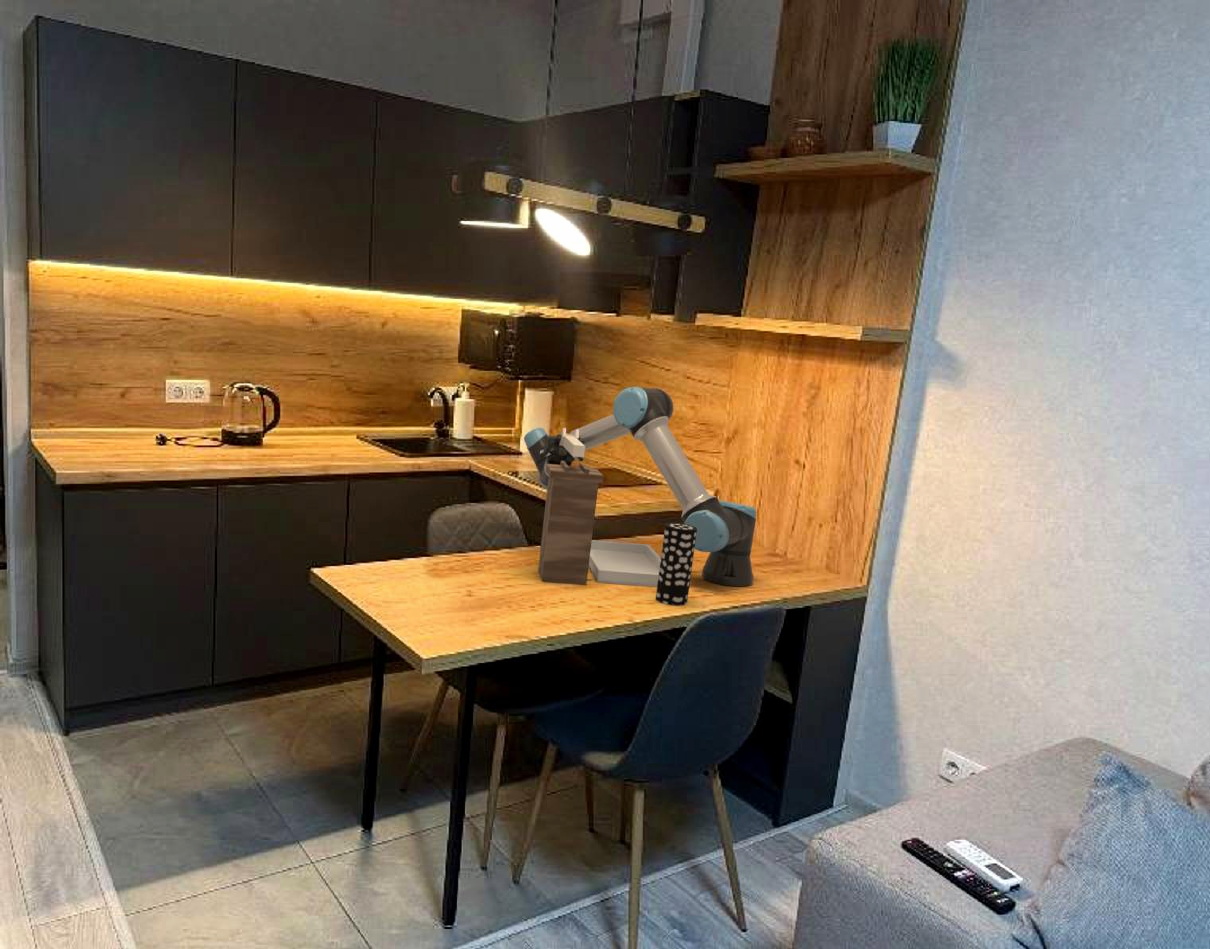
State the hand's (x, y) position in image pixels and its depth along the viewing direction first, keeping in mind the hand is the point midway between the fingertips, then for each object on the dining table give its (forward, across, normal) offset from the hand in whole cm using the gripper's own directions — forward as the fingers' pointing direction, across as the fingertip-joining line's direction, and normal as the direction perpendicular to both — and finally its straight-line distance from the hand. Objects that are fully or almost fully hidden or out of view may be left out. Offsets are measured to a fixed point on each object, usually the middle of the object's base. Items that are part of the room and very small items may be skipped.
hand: (571, 433), depth 261 cm
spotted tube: (+6, -27, -48) cm, 56 cm away
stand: (-7, 0, -40) cm, 41 cm away
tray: (-21, -21, -32) cm, 44 cm away
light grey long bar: (+2, 0, -6) cm, 6 cm away
